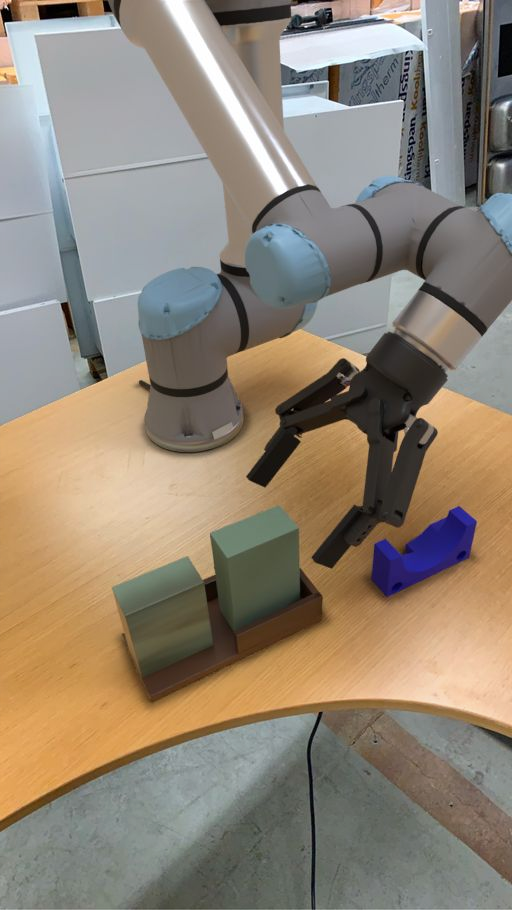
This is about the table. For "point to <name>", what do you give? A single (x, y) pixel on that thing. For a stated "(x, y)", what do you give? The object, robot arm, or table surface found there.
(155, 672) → the brown desk organizer
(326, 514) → the table surface
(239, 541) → the green rectangular block
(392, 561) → the blue cradle bracket
